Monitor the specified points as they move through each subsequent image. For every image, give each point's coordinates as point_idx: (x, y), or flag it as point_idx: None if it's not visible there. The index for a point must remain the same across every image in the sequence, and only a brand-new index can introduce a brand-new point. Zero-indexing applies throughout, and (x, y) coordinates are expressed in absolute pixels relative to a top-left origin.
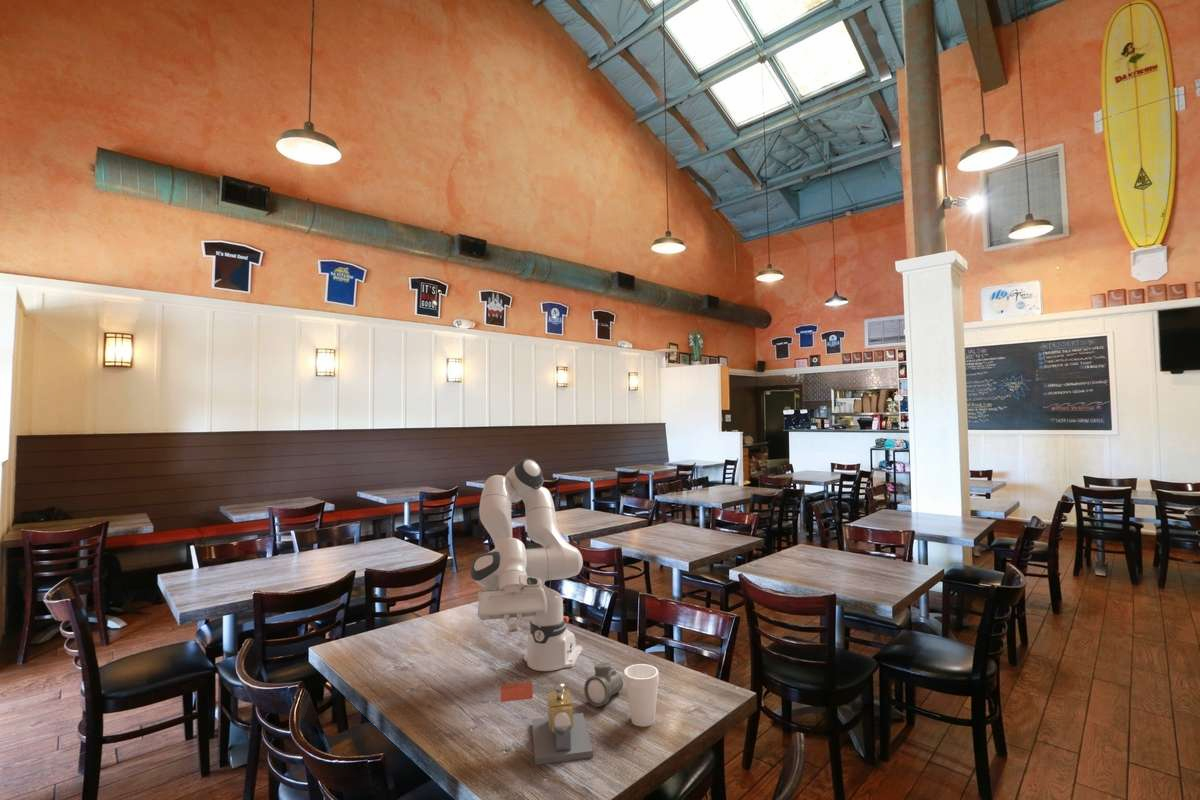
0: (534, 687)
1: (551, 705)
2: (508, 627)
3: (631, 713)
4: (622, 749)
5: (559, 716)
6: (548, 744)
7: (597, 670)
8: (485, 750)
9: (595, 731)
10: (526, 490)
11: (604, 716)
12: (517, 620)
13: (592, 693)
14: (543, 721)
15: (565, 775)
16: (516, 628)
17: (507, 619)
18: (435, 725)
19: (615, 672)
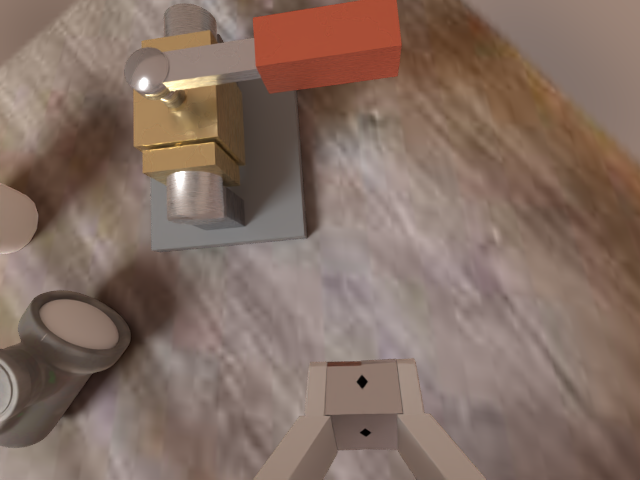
0: (249, 53)
1: None
2: (410, 376)
3: (17, 204)
4: (87, 100)
5: (188, 19)
6: (256, 101)
7: (19, 359)
8: (431, 123)
9: (136, 183)
10: None
11: (101, 255)
12: (306, 445)
13: (98, 321)
14: (269, 216)
15: (224, 15)
16: (324, 364)
17: (439, 466)
18: (631, 274)
19: None
